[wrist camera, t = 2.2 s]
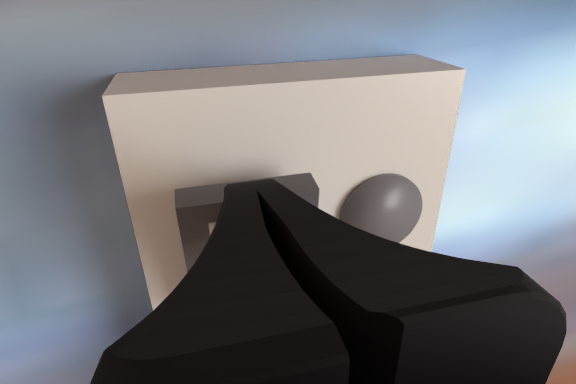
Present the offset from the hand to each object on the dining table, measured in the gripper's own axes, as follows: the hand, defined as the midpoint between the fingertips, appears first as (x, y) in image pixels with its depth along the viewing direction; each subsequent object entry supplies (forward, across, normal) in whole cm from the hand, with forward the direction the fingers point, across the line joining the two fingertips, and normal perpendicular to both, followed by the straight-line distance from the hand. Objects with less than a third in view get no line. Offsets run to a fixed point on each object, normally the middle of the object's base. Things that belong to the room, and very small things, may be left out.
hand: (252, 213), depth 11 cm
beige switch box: (+5, -2, +6) cm, 8 cm away
